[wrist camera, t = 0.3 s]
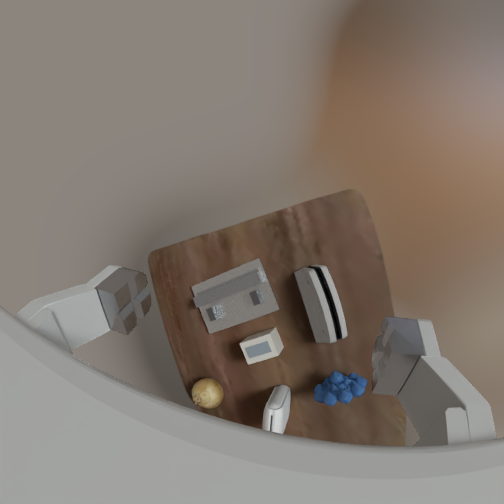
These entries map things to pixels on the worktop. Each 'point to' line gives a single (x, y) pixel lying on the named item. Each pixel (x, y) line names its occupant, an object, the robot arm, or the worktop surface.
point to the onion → (207, 393)
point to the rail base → (235, 296)
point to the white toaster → (321, 303)
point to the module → (262, 346)
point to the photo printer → (277, 410)
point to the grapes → (339, 388)
